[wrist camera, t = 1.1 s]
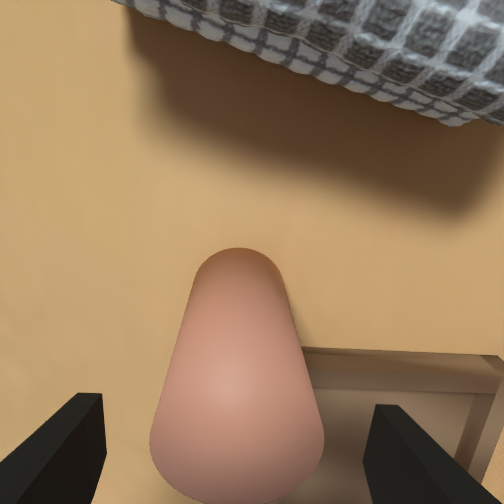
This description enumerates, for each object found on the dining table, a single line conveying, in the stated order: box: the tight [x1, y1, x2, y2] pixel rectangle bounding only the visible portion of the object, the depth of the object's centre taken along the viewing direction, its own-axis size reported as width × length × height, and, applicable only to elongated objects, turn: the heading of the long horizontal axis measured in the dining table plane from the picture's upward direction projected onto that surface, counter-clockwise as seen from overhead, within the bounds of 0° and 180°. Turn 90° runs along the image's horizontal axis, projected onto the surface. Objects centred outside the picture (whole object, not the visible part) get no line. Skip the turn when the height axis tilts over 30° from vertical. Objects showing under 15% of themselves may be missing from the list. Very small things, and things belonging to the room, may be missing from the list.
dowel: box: [149, 248, 324, 504], centre depth 13 cm, size 4×4×9 cm
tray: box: [264, 347, 504, 504], centre depth 21 cm, size 14×12×2 cm
